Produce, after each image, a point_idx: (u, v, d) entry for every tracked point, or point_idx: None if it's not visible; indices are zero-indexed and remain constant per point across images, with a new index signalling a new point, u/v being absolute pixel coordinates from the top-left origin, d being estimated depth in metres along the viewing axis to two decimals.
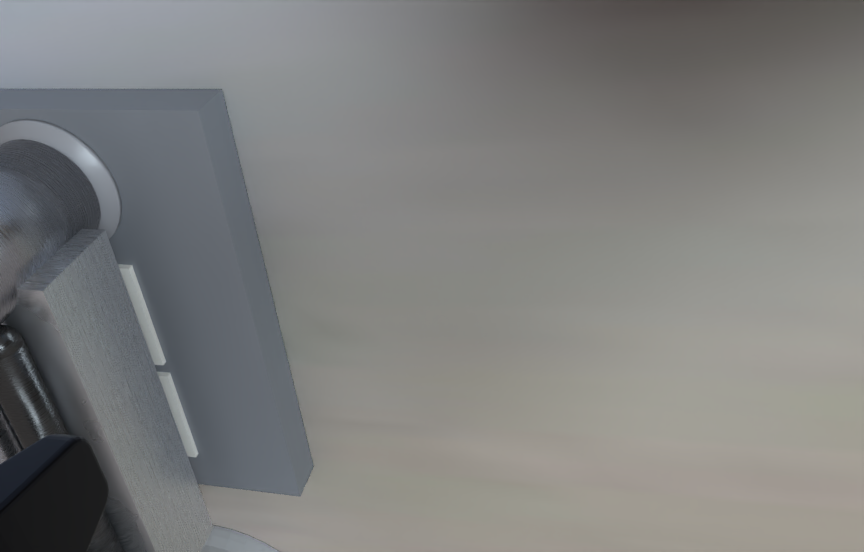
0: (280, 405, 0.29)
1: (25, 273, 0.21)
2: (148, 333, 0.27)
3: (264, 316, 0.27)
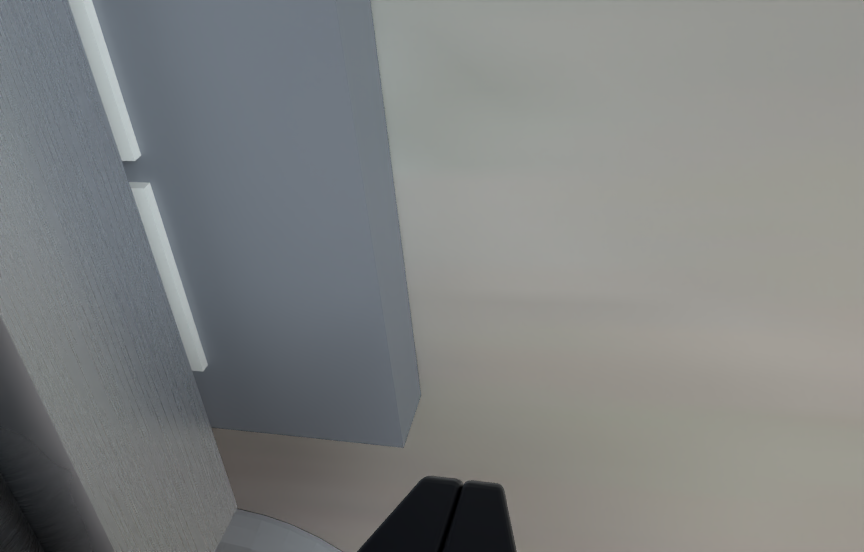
0: (379, 252, 0.14)
1: None
2: (100, 79, 0.12)
3: (357, 33, 0.12)
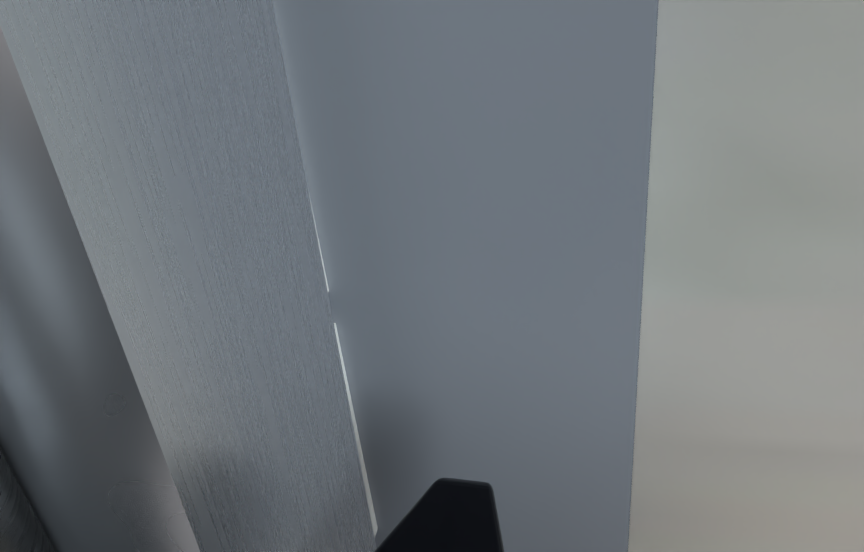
0: None
1: None
2: None
3: None
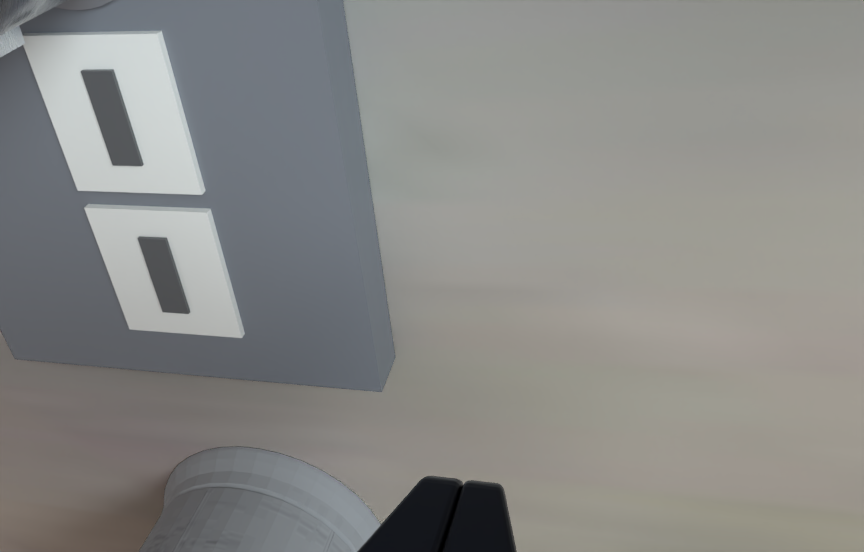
0: (363, 255, 0.21)
1: None
2: (182, 143, 0.19)
3: (347, 115, 0.19)
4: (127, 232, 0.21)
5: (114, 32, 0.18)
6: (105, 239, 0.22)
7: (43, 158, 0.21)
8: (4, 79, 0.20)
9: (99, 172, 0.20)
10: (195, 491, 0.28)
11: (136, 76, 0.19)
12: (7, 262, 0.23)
